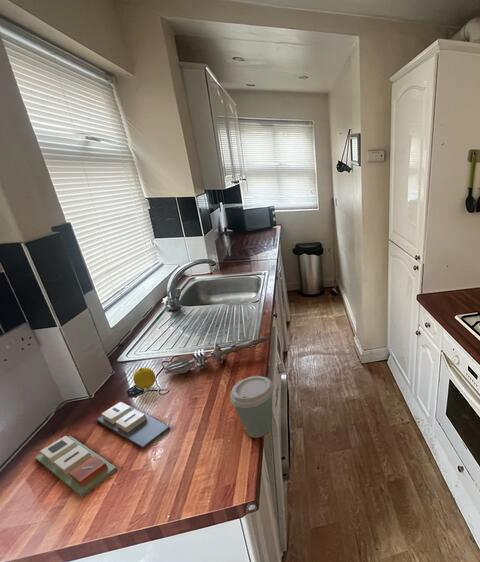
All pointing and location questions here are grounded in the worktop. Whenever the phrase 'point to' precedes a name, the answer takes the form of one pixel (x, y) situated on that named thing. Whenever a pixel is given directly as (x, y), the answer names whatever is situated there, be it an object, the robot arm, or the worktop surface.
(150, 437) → the strip
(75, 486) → the green word strip
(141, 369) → the lemon
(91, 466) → the brown flat square block
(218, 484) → the worktop surface
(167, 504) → the worktop surface
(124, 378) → the worktop surface
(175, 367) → the spaceship
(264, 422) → the disposable coffee cup
